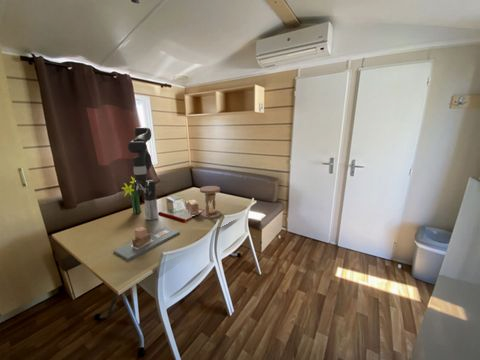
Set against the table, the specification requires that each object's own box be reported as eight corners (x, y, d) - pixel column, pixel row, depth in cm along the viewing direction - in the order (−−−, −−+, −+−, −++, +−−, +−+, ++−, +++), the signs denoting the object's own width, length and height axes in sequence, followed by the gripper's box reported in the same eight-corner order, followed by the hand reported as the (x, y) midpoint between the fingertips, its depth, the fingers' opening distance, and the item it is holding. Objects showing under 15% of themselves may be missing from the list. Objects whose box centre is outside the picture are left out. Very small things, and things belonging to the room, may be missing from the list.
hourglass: (213, 221, 168) (212, 192, 163) (196, 216, 177) (195, 189, 171) (224, 213, 183) (224, 187, 178) (209, 210, 192) (208, 184, 186)
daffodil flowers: (132, 218, 173) (127, 179, 165) (122, 215, 180) (117, 177, 172) (150, 212, 187) (146, 175, 179) (140, 209, 194) (136, 173, 186)
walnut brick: (133, 246, 127) (132, 239, 126) (144, 238, 137) (144, 232, 136) (139, 247, 126) (138, 240, 125) (150, 240, 135) (150, 233, 134)
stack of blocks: (185, 210, 193) (184, 197, 190) (192, 208, 196) (191, 196, 193) (192, 218, 175) (191, 204, 172) (199, 216, 178) (198, 203, 175)
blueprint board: (113, 252, 124) (113, 249, 124) (165, 228, 156) (164, 226, 155) (128, 260, 116) (128, 257, 116) (179, 233, 147) (179, 231, 147)
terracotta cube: (135, 236, 129) (134, 229, 128) (142, 233, 134) (141, 226, 132) (140, 238, 127) (139, 231, 126) (147, 235, 131) (146, 228, 130)
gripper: (128, 172, 131) (131, 196, 135) (141, 175, 124) (144, 200, 128) (139, 171, 138) (142, 193, 141) (152, 173, 130) (154, 197, 134)
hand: (143, 196), depth 135 cm, fingers open, 8 cm apart
